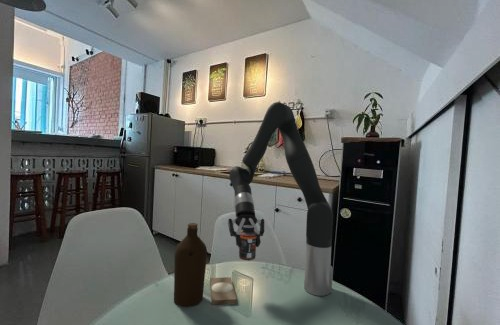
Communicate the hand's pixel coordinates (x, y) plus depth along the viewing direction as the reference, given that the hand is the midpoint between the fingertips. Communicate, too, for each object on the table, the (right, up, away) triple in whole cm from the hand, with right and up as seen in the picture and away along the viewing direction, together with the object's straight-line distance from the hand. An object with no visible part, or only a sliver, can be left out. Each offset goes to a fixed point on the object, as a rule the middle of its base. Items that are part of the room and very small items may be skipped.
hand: (248, 246), depth 85 cm
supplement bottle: (-1, -5, +2) cm, 5 cm away
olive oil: (-20, -17, -4) cm, 26 cm away
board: (-10, -17, +2) cm, 20 cm away
